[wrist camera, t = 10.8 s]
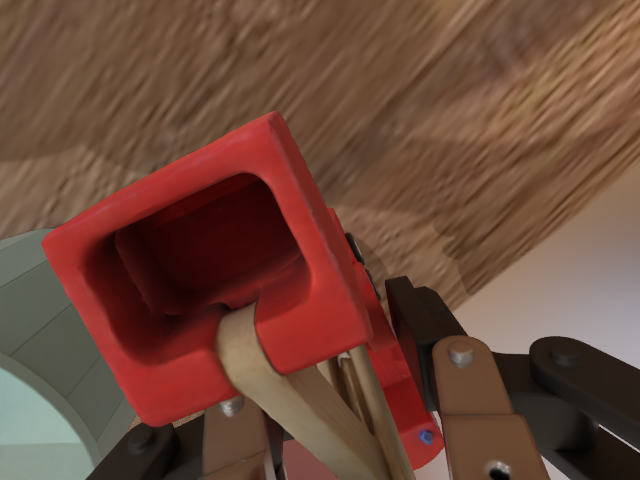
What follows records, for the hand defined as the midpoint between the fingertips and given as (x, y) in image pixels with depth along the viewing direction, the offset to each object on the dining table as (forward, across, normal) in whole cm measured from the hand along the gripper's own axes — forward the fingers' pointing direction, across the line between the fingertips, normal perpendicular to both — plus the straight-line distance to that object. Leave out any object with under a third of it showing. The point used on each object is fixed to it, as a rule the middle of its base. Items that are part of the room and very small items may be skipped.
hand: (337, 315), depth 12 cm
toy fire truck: (+3, 0, 0) cm, 3 cm away
